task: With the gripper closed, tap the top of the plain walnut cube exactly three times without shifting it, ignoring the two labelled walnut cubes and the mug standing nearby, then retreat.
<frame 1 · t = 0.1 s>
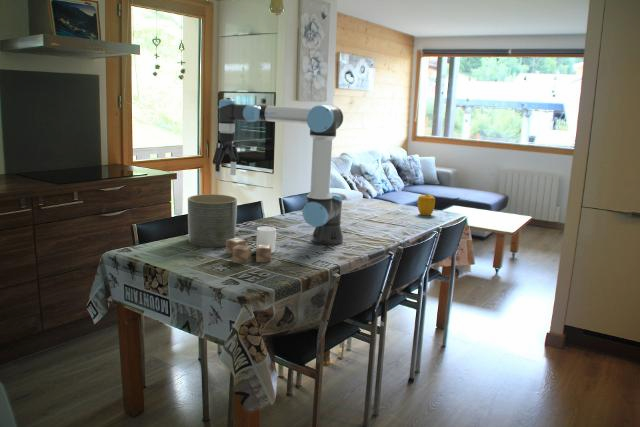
hand: (225, 176, 265), 28 cm above the table, fingers open, 13 cm apart
planter: (212, 241, 255), on the table
labelled cube a: (235, 253, 238), on the table
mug: (268, 250, 244), on the table
plain cube: (241, 261, 227), on the table
labelled cube b: (263, 260, 230), on the table
yellow bell pepper: (425, 215, 340), on the table
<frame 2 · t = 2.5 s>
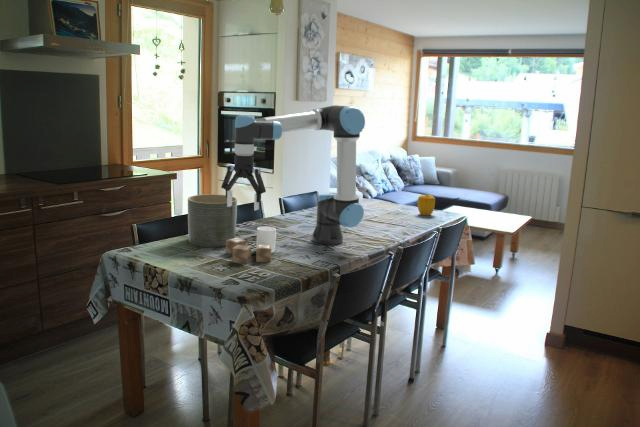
hand: (242, 208, 222), 22 cm above the table, fingers open, 12 cm apart
nothing on the table moved.
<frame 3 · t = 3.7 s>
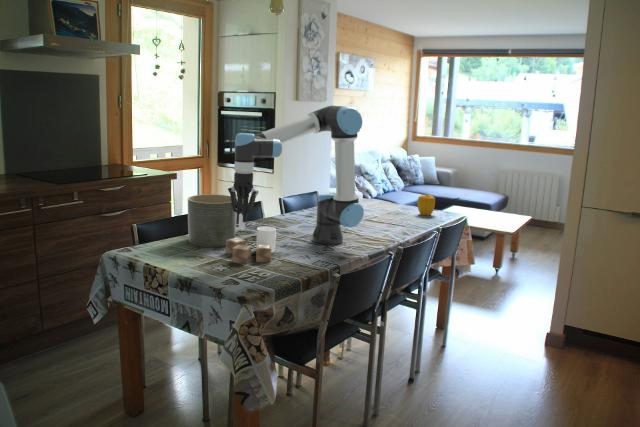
hand: (241, 229, 224), 13 cm above the table, fingers closed
nothing on the table moved.
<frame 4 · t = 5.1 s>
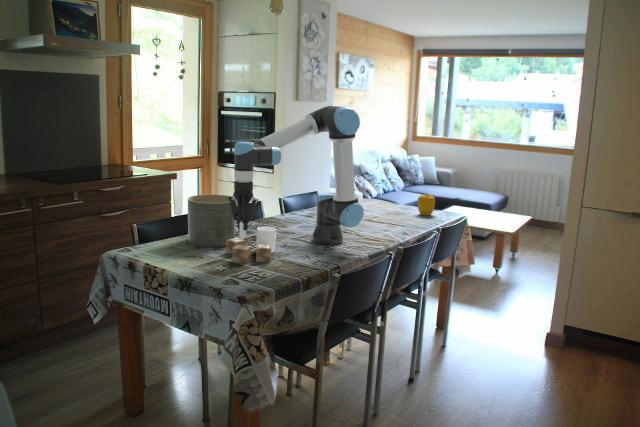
hand: (242, 237, 225), 10 cm above the table, fingers closed
nothing on the table moved.
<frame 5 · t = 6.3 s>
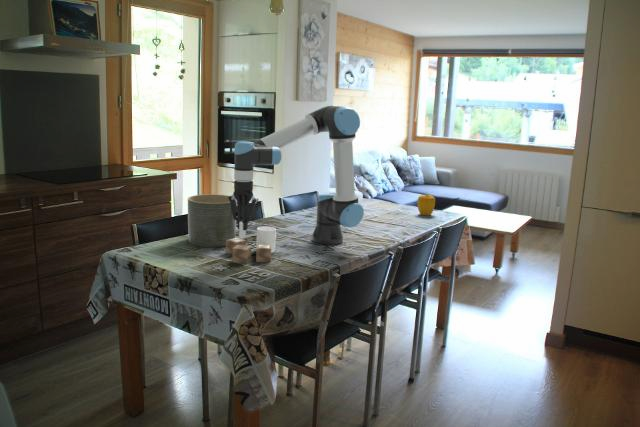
hand: (242, 237, 225), 10 cm above the table, fingers closed
nothing on the table moved.
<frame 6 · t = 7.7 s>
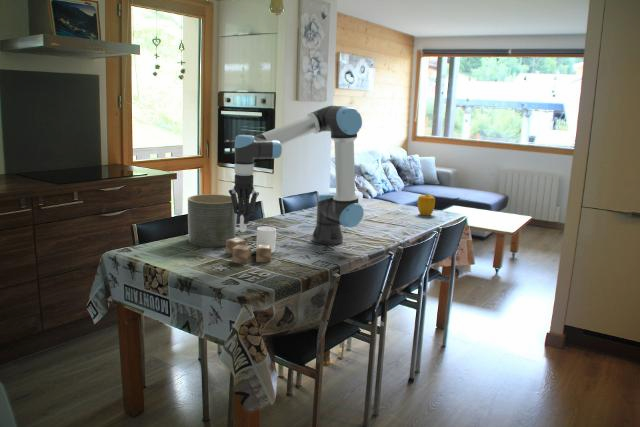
hand: (243, 231, 225), 13 cm above the table, fingers closed
nothing on the table moved.
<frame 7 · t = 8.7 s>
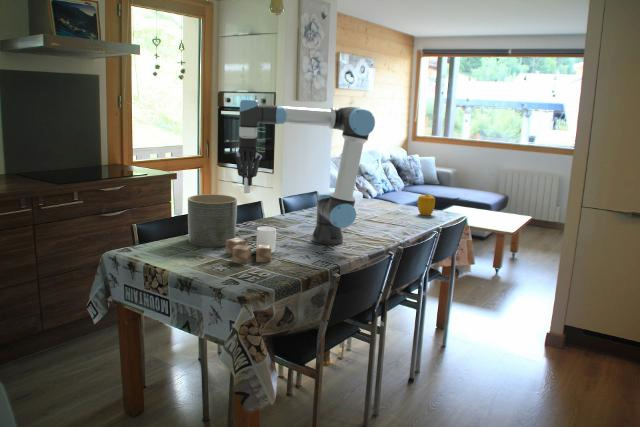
hand: (246, 192, 234), 26 cm above the table, fingers closed
nothing on the table moved.
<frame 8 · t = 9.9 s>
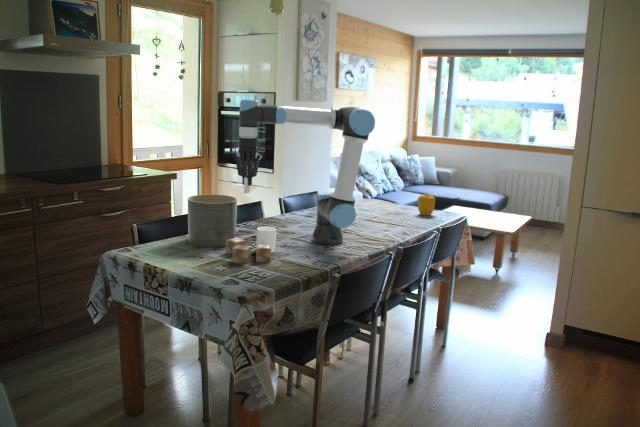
hand: (246, 192, 234), 26 cm above the table, fingers closed
nothing on the table moved.
at the end: plain cube moved 0.1 cm from its start; plain cube tilted 0°; the gripper is holding nothing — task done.
